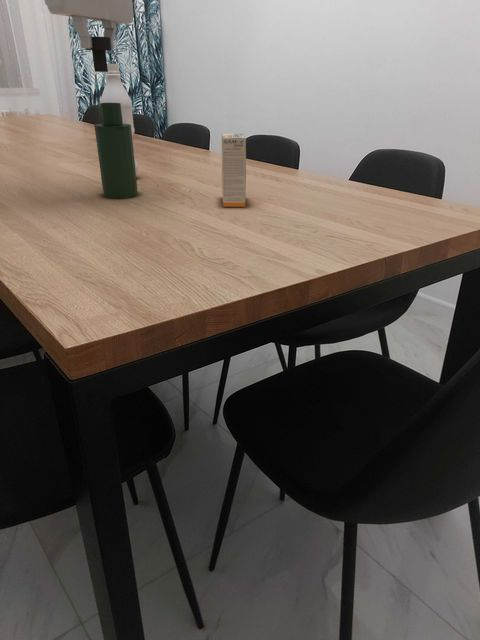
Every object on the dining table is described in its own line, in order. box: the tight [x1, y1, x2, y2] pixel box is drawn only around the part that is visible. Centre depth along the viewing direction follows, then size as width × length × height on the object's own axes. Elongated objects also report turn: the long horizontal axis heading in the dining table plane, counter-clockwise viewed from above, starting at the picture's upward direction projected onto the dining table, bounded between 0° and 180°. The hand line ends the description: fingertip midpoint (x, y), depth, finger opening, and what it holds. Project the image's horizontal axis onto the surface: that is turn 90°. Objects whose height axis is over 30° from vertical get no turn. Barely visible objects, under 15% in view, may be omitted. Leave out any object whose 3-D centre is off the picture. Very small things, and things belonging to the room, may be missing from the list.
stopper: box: [84, 35, 113, 73], centre depth 92 cm, size 5×5×6 cm
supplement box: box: [221, 133, 247, 208], centre depth 102 cm, size 8×5×13 cm, turn 5°
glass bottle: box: [94, 102, 139, 200], centre depth 105 cm, size 7×7×18 cm
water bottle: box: [100, 63, 139, 178], centre depth 120 cm, size 7×7×25 cm
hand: (98, 49), depth 92 cm, fingers closed on stopper, 4 cm apart
